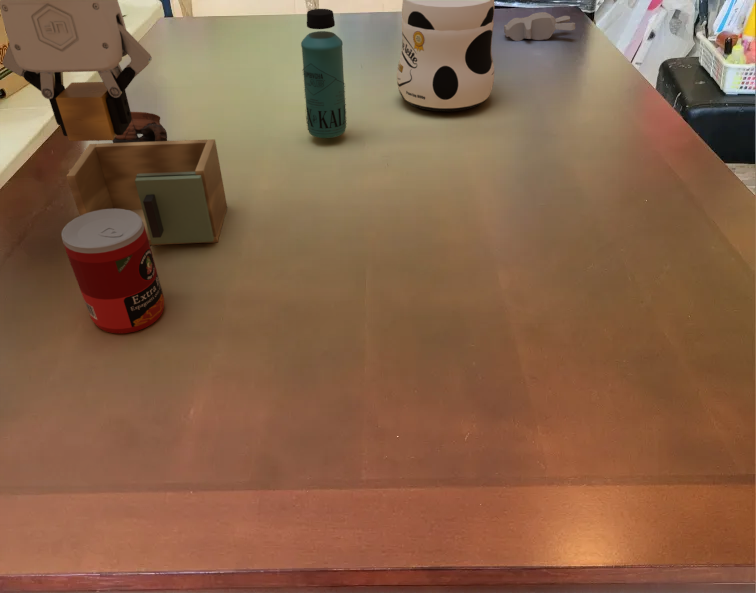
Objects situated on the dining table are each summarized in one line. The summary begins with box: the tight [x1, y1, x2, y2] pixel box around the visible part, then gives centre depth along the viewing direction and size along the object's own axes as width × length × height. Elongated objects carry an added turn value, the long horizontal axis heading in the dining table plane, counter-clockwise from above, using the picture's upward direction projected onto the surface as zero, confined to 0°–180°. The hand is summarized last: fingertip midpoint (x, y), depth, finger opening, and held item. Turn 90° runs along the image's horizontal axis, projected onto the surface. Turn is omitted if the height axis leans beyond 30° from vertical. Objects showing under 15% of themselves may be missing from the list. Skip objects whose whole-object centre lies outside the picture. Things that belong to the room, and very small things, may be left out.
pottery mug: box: [112, 111, 168, 143], centre depth 102 cm, size 12×10×8 cm
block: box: [56, 81, 117, 142], centre depth 68 cm, size 5×5×5 cm
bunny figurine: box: [503, 11, 576, 42], centre depth 149 cm, size 10×5×15 cm
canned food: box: [60, 209, 165, 334], centre depth 69 cm, size 8×8×11 cm
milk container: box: [396, 0, 495, 112], centre depth 115 cm, size 17×17×18 cm
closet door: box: [135, 175, 214, 245], centre depth 79 cm, size 8×2×9 cm, turn 93°
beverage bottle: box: [300, 8, 348, 139], centre depth 102 cm, size 6×7×20 cm
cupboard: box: [66, 139, 228, 246], centre depth 83 cm, size 16×9×10 cm, turn 93°
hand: (97, 128), depth 70 cm, fingers closed on block, 4 cm apart
